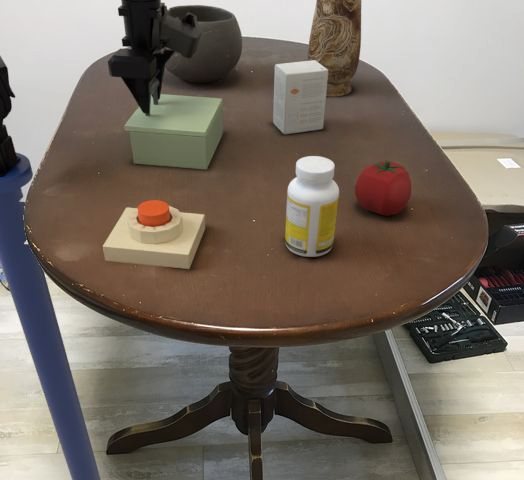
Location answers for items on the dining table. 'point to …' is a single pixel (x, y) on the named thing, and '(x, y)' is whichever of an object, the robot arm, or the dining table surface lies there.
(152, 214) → the button
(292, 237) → the pill bottle
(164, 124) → the lid
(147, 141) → the box
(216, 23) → the bowl
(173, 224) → the release console
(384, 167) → the tomato
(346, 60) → the vase
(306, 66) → the small box
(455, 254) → the dining table surface
